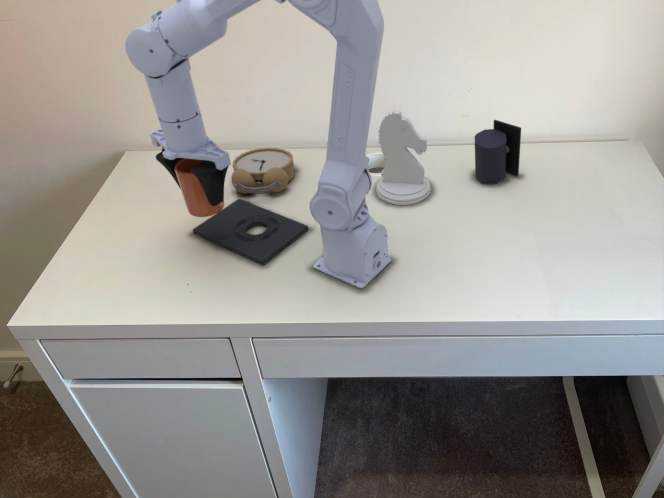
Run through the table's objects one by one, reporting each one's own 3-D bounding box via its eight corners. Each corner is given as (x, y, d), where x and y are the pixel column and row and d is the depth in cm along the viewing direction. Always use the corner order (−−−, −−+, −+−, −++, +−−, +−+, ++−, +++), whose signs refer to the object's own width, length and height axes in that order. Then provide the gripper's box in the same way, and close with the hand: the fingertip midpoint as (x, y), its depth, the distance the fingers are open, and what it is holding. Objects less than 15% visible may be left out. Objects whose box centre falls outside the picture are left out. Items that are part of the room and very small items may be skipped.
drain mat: (308, 229, 96) (307, 225, 95) (263, 265, 89) (262, 261, 89) (240, 202, 103) (239, 198, 102) (193, 233, 96) (192, 229, 96)
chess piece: (427, 206, 100) (429, 126, 90) (372, 203, 101) (367, 124, 91) (433, 177, 107) (434, 100, 97) (381, 174, 108) (377, 98, 98)
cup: (232, 203, 90) (221, 160, 85) (205, 221, 87) (192, 178, 82) (207, 193, 93) (195, 151, 88) (180, 210, 89) (166, 167, 84)
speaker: (499, 161, 110) (502, 113, 102) (519, 176, 106) (523, 127, 99) (467, 176, 108) (467, 128, 100) (485, 191, 104) (488, 142, 97)
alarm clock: (296, 146, 112) (285, 173, 99) (299, 170, 114) (289, 200, 101) (239, 148, 112) (220, 175, 99) (243, 172, 114) (225, 202, 102)
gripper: (122, 113, 80) (152, 196, 89) (192, 137, 74) (217, 224, 83) (162, 95, 84) (186, 175, 93) (232, 116, 78) (251, 200, 87)
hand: (203, 197), depth 88 cm, fingers closed on cup, 5 cm apart
